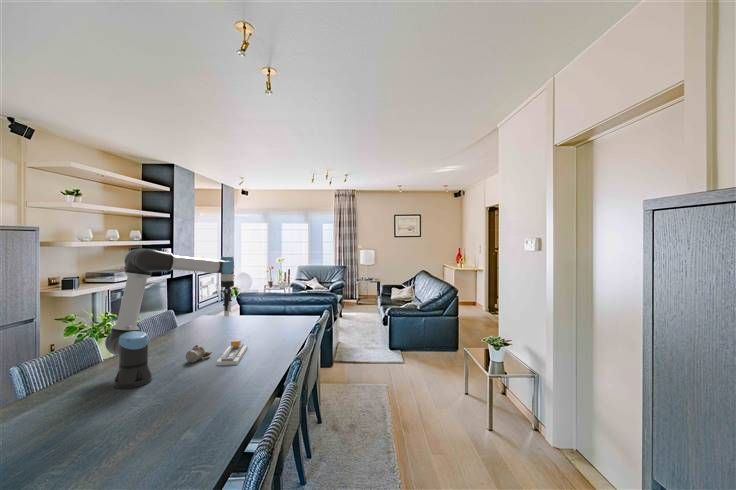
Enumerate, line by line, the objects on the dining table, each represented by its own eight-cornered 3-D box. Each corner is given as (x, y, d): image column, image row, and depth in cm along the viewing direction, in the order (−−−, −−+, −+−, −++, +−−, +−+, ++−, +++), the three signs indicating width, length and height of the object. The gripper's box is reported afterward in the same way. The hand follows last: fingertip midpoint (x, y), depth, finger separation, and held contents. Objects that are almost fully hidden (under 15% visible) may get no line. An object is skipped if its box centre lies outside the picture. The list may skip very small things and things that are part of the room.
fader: (239, 349, 214) (239, 341, 214) (230, 349, 214) (231, 341, 213) (240, 348, 217) (240, 340, 217) (232, 348, 216) (232, 340, 216)
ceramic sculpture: (180, 347, 195) (196, 341, 210) (179, 363, 195) (195, 356, 210) (198, 348, 194) (213, 342, 209) (197, 364, 194) (212, 357, 208)
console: (237, 364, 194) (237, 358, 194) (216, 365, 193) (216, 359, 193) (247, 348, 224) (247, 343, 224) (229, 348, 222) (229, 343, 222)
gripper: (232, 282, 211) (232, 317, 212) (235, 278, 235) (235, 309, 235) (218, 282, 209) (218, 318, 209) (223, 278, 233) (223, 310, 233)
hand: (227, 313), depth 222 cm, fingers open, 13 cm apart
